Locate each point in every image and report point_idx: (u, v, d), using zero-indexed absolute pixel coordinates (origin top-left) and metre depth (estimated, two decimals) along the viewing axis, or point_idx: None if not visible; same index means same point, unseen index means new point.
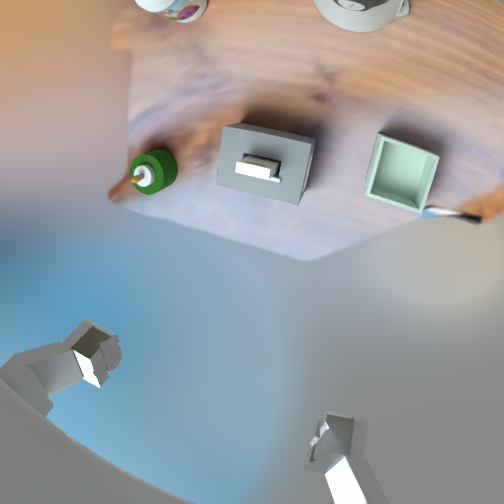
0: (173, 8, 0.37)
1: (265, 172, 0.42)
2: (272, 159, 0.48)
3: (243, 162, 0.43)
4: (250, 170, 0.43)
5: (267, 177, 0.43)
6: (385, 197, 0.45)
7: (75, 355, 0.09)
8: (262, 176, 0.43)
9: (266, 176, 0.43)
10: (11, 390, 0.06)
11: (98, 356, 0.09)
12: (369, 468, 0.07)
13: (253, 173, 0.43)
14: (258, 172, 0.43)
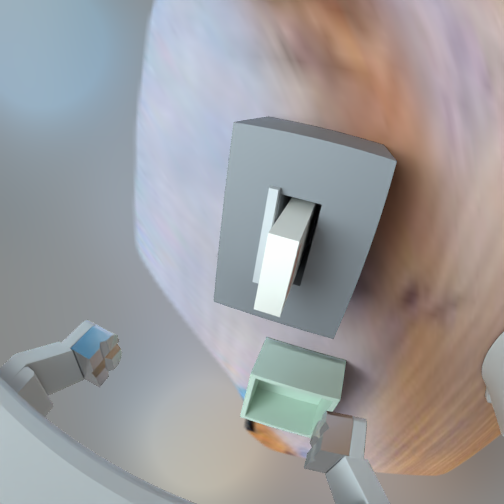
0: None
1: (271, 305, 0.17)
2: (303, 250, 0.22)
3: (296, 253, 0.16)
4: (274, 273, 0.16)
5: (259, 308, 0.18)
6: (253, 388, 0.33)
7: (75, 355, 0.09)
8: (260, 298, 0.17)
9: (261, 306, 0.18)
10: (11, 390, 0.06)
11: (98, 356, 0.09)
12: (369, 468, 0.07)
13: (267, 279, 0.17)
14: (270, 291, 0.17)
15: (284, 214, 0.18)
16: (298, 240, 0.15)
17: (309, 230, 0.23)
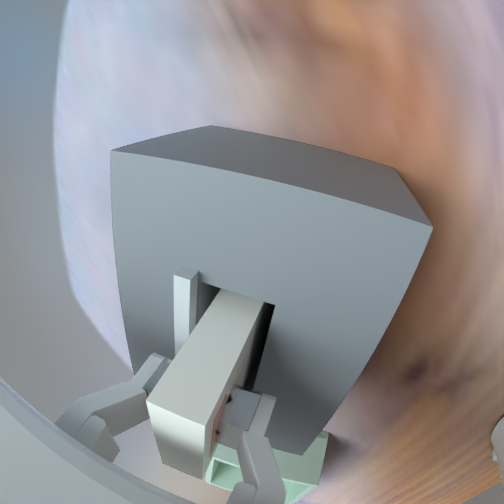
0: None
1: (185, 468, 0.09)
2: (256, 349, 0.14)
3: (209, 427, 0.07)
4: (176, 445, 0.08)
5: (170, 465, 0.09)
6: (214, 463, 0.24)
7: (148, 395, 0.09)
8: (167, 458, 0.09)
9: (172, 465, 0.09)
10: (11, 390, 0.06)
11: None
12: (270, 448, 0.08)
13: (168, 447, 0.08)
14: (178, 457, 0.08)
15: (198, 332, 0.09)
16: (204, 421, 0.06)
17: (266, 316, 0.14)
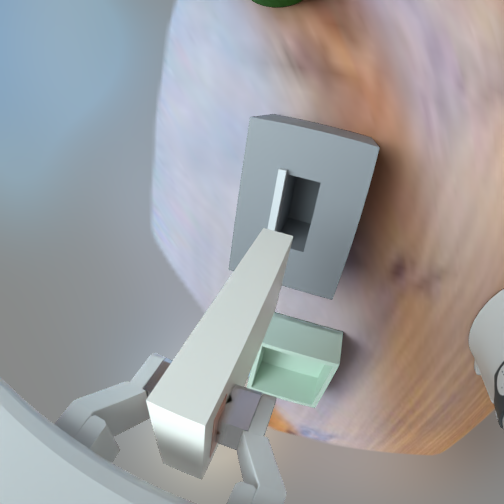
0: None
1: (185, 468, 0.09)
2: (256, 349, 0.14)
3: (209, 427, 0.07)
4: (177, 445, 0.08)
5: (170, 465, 0.09)
6: (259, 357, 0.37)
7: (148, 395, 0.09)
8: (167, 458, 0.09)
9: (172, 465, 0.09)
10: (11, 390, 0.06)
11: None
12: (270, 448, 0.08)
13: (168, 446, 0.08)
14: (178, 457, 0.08)
15: (199, 332, 0.09)
16: (204, 420, 0.06)
17: (267, 317, 0.14)
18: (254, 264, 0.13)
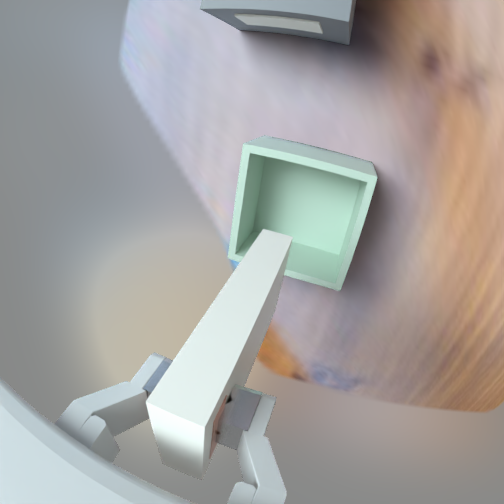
0: None
1: (185, 469, 0.09)
2: (256, 350, 0.14)
3: (209, 428, 0.07)
4: (176, 446, 0.08)
5: (169, 465, 0.09)
6: (246, 185, 0.24)
7: (148, 395, 0.09)
8: (167, 459, 0.09)
9: (172, 465, 0.09)
10: (11, 390, 0.06)
11: None
12: (270, 448, 0.08)
13: (167, 447, 0.08)
14: (178, 458, 0.08)
15: (198, 334, 0.09)
16: (204, 422, 0.06)
17: (266, 318, 0.14)
18: (253, 265, 0.13)
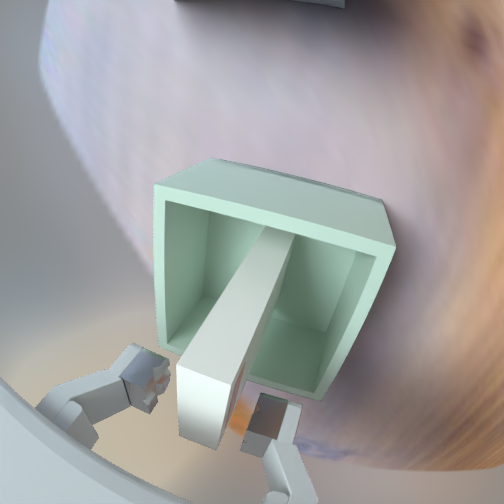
0: None
1: (201, 439, 0.10)
2: (264, 330, 0.15)
3: (231, 390, 0.08)
4: (198, 411, 0.09)
5: (186, 437, 0.10)
6: (170, 250, 0.14)
7: (125, 383, 0.09)
8: (185, 429, 0.10)
9: (189, 436, 0.10)
10: (11, 390, 0.06)
11: (151, 383, 0.09)
12: (299, 455, 0.07)
13: (189, 415, 0.09)
14: (197, 426, 0.09)
15: (220, 306, 0.10)
16: (230, 381, 0.08)
17: (274, 300, 0.15)
18: (264, 250, 0.14)
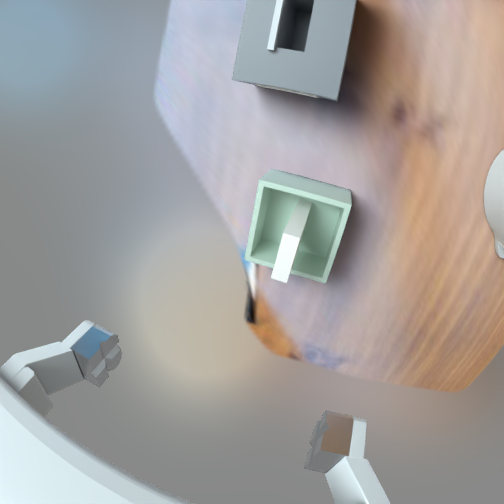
0: None
1: (281, 275, 0.30)
2: (299, 244, 0.35)
3: (298, 244, 0.28)
4: (285, 256, 0.29)
5: (274, 277, 0.30)
6: (260, 208, 0.34)
7: (75, 355, 0.09)
8: (275, 271, 0.30)
9: (275, 276, 0.30)
10: (11, 390, 0.06)
11: (98, 356, 0.09)
12: (369, 468, 0.07)
13: (280, 259, 0.29)
14: (281, 266, 0.29)
15: (290, 222, 0.30)
16: (299, 237, 0.27)
17: (303, 231, 0.35)
18: (300, 208, 0.34)
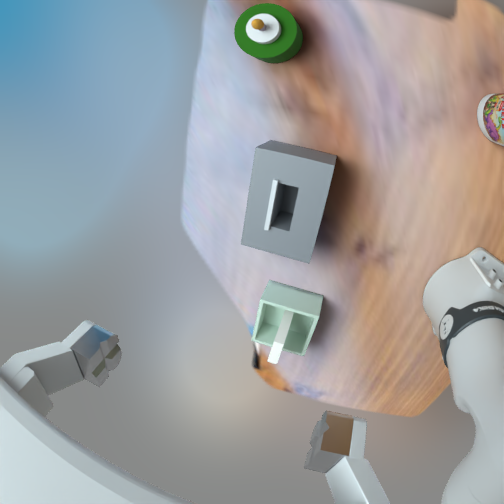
0: None
1: (273, 360, 0.47)
2: None
3: None
4: (275, 352, 0.46)
5: (269, 361, 0.48)
6: (261, 313, 0.52)
7: (75, 355, 0.09)
8: (270, 358, 0.47)
9: (270, 360, 0.48)
10: (11, 390, 0.06)
11: (98, 356, 0.09)
12: (369, 468, 0.07)
13: (272, 353, 0.47)
14: (273, 356, 0.47)
15: (279, 329, 0.48)
16: (283, 343, 0.45)
17: None
18: (287, 313, 0.52)
